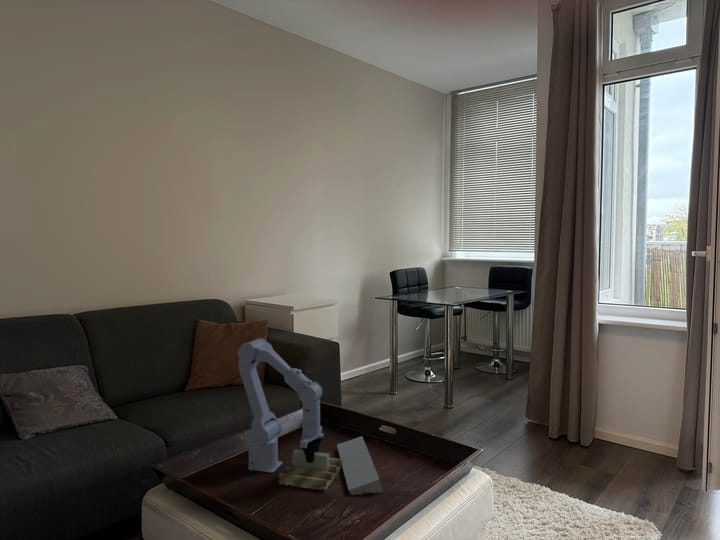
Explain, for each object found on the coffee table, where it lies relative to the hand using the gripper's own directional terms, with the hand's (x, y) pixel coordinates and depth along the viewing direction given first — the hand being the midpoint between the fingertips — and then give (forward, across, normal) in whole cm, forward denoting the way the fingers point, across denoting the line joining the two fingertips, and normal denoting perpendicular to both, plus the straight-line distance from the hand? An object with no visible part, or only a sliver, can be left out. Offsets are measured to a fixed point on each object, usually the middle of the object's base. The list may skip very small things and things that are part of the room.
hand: (311, 460), depth 167 cm
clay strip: (+2, 0, 0) cm, 3 cm away
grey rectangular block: (+6, +9, -13) cm, 17 cm away
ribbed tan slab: (+5, 0, 0) cm, 5 cm away
